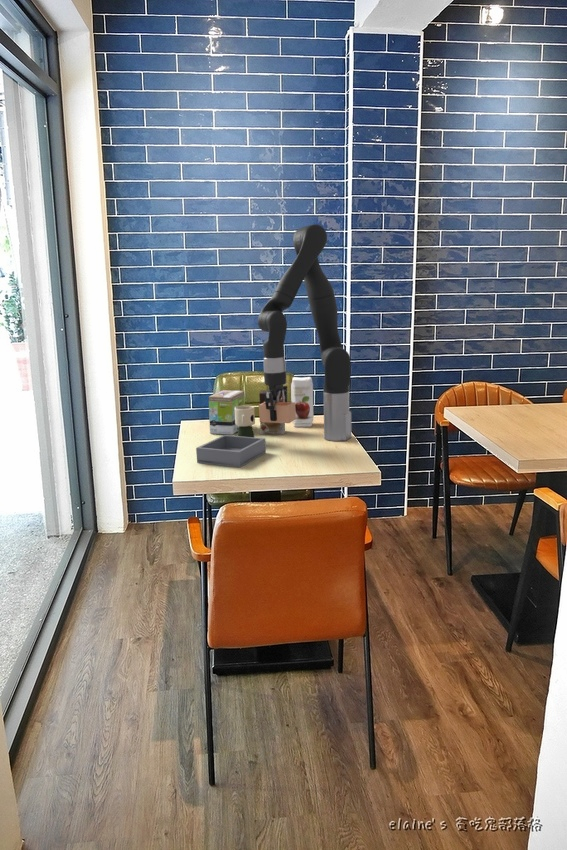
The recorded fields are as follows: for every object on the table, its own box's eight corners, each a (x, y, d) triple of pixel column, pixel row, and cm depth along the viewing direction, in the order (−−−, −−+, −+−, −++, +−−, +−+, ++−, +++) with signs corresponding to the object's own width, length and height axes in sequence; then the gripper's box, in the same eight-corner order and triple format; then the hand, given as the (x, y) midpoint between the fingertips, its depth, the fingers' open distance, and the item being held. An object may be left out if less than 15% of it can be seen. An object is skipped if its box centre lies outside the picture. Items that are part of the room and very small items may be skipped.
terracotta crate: (295, 419, 225) (295, 402, 224) (289, 423, 220) (288, 405, 219) (267, 418, 230) (266, 401, 229) (259, 421, 225) (258, 404, 223)
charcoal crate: (265, 452, 222) (265, 438, 221) (240, 467, 206) (239, 452, 205) (224, 448, 229) (224, 434, 227) (197, 462, 213) (196, 447, 212)
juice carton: (292, 423, 264) (291, 376, 259) (314, 422, 263) (313, 376, 259) (291, 427, 256) (290, 379, 252) (313, 427, 256) (312, 379, 251)
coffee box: (259, 435, 246) (258, 393, 243) (262, 431, 252) (260, 390, 249) (284, 434, 245) (282, 392, 242) (285, 430, 252) (284, 389, 248)
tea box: (234, 435, 248) (232, 396, 244) (209, 434, 250) (207, 396, 247) (246, 426, 262) (244, 389, 258) (223, 425, 264) (221, 389, 261)
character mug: (254, 446, 231) (253, 410, 228) (234, 446, 231) (232, 410, 228) (256, 438, 241) (255, 404, 238) (237, 439, 242) (235, 404, 239)
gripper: (276, 374, 213) (279, 424, 217) (293, 367, 226) (295, 414, 230) (255, 373, 216) (258, 423, 220) (273, 367, 229) (276, 413, 233)
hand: (277, 418), depth 225 cm, fingers closed on terracotta crate, 6 cm apart
